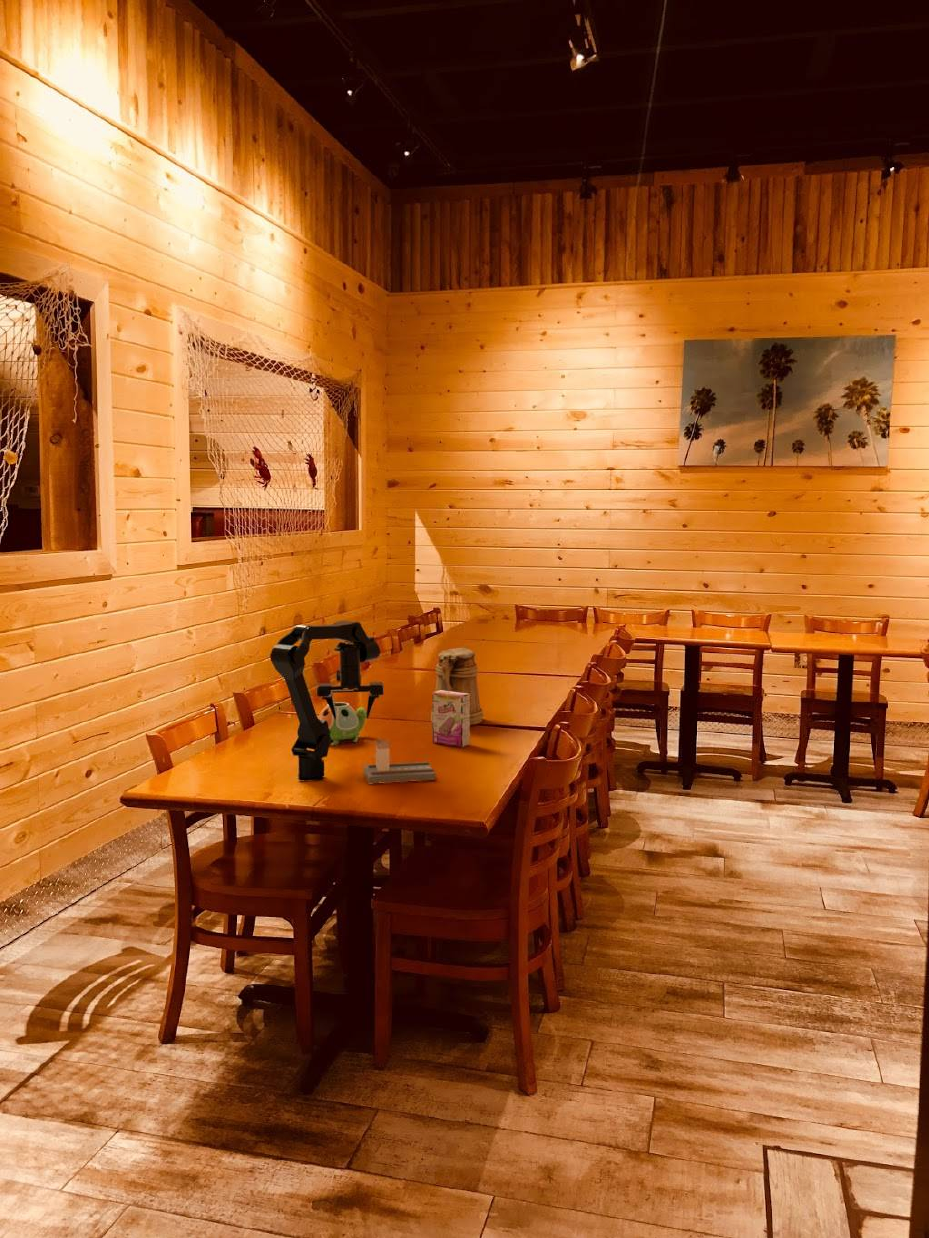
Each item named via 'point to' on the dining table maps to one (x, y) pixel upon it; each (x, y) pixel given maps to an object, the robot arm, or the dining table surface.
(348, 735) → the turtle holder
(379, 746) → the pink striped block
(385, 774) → the toy road segment
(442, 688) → the tankard
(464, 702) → the candy bar box
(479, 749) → the dining table surface
